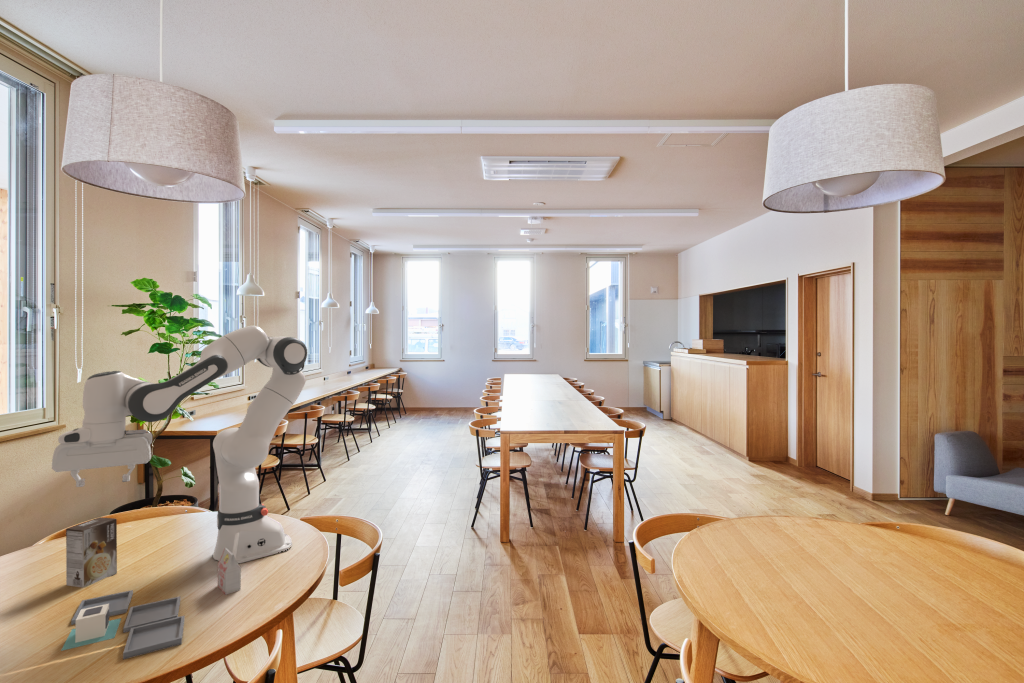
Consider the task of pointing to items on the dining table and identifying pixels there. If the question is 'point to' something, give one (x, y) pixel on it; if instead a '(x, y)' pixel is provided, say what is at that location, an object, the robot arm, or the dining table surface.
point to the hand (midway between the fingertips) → (103, 483)
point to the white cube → (92, 623)
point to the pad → (108, 635)
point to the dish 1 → (115, 601)
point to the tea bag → (229, 573)
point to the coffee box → (91, 551)
